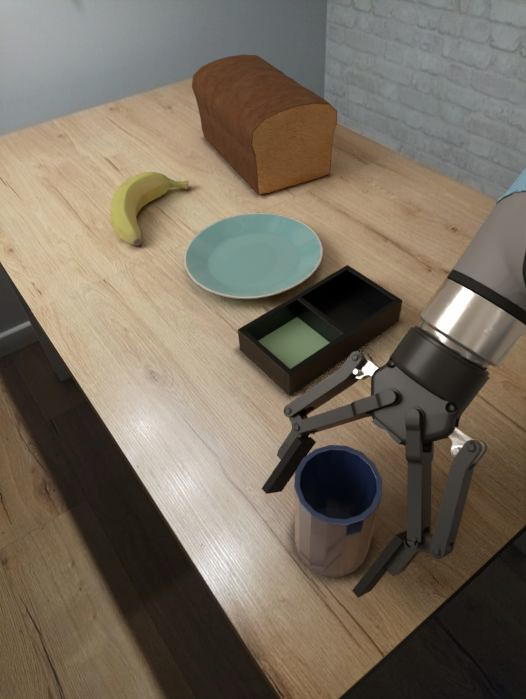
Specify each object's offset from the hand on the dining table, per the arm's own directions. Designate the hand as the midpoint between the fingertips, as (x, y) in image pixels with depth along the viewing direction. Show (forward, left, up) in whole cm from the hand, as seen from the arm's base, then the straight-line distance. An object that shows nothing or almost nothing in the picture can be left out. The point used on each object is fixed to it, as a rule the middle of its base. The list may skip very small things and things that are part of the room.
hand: (313, 536), depth 48 cm
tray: (+22, -22, -5) cm, 31 cm away
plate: (+41, -25, -5) cm, 48 cm away
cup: (0, -3, -5) cm, 5 cm away
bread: (+69, -49, -5) cm, 85 cm away
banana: (+66, -21, -5) cm, 69 cm away
